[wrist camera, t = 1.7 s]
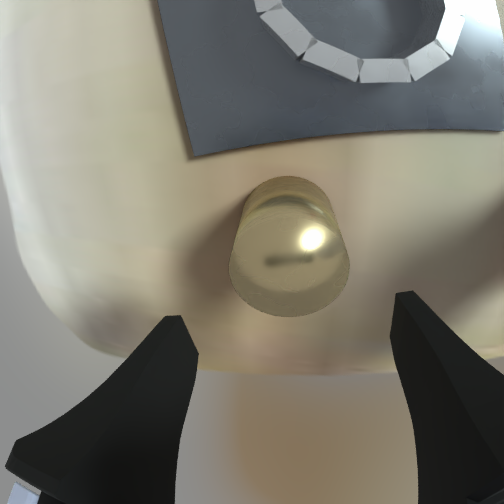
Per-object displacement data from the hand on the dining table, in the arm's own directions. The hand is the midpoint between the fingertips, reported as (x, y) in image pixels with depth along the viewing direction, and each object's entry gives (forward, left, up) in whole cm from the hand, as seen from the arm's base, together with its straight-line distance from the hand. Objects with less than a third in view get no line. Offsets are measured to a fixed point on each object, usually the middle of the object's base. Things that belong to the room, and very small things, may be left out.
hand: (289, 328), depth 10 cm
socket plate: (-5, -11, -8) cm, 15 cm away
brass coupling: (0, 0, -8) cm, 8 cm away
